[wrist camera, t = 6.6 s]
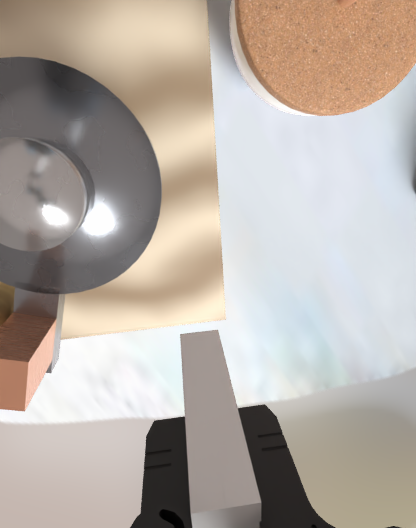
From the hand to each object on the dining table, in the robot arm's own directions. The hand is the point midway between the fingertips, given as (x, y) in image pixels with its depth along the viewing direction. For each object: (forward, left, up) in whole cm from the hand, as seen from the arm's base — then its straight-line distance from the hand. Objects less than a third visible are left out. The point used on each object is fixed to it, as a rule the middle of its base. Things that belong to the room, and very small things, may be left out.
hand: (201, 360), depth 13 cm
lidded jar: (-15, +9, -16) cm, 23 cm away
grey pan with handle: (-4, -8, -9) cm, 12 cm away
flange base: (-7, -7, -15) cm, 18 cm away
